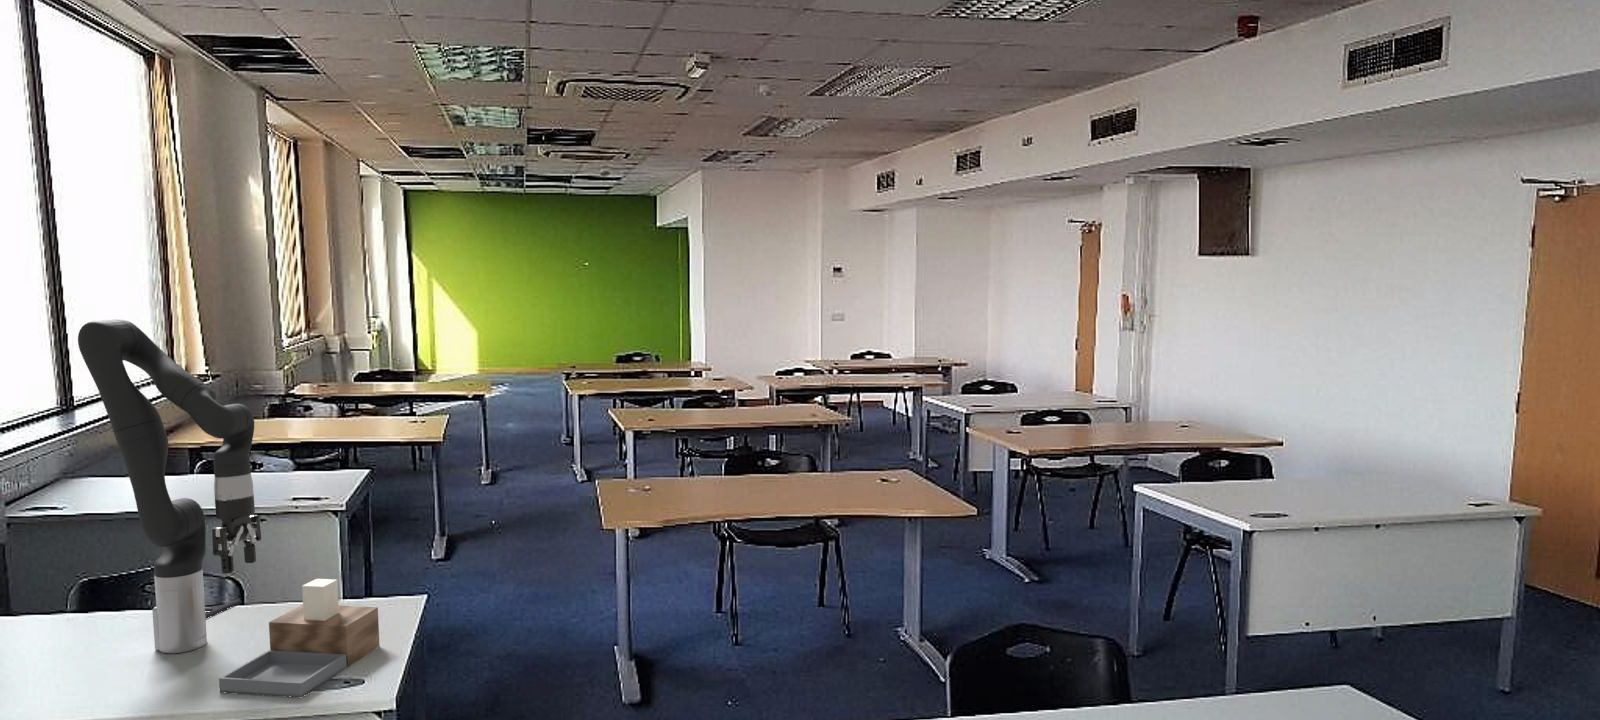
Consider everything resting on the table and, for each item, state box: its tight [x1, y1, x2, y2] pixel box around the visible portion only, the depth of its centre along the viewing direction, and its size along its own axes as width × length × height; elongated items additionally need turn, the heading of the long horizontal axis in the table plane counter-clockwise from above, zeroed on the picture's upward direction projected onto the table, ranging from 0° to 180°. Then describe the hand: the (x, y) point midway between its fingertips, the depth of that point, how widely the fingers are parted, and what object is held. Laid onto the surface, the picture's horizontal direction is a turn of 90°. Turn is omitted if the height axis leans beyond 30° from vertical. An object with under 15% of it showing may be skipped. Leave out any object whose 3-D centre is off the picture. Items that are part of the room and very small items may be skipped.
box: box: [218, 649, 348, 698], centre depth 209 cm, size 18×15×3 cm
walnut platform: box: [268, 604, 380, 668], centre depth 222 cm, size 18×12×9 cm, turn 82°
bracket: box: [205, 598, 243, 619], centre depth 251 cm, size 14×15×3 cm
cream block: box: [301, 578, 339, 621], centre depth 220 cm, size 5×5×8 cm
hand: (239, 567), depth 224 cm, fingers open, 8 cm apart
